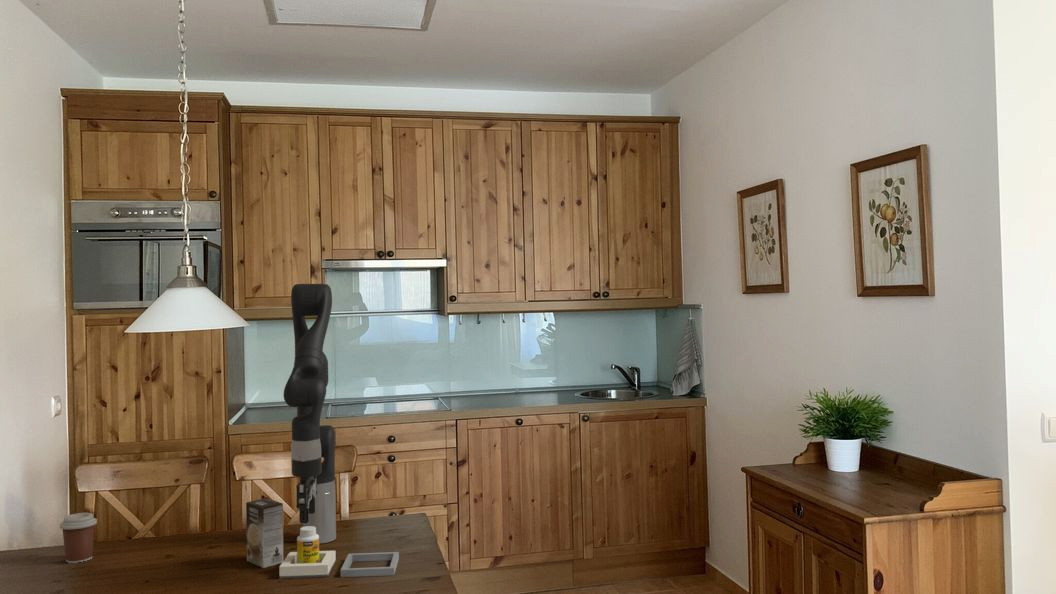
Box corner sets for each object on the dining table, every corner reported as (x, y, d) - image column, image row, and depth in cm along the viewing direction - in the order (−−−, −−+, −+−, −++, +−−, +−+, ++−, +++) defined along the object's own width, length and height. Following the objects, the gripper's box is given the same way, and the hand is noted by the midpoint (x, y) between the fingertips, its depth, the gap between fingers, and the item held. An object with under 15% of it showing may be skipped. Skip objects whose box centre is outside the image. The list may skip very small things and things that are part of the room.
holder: (290, 563, 220) (289, 552, 220) (335, 561, 221) (335, 550, 221) (279, 578, 208) (279, 566, 208) (327, 576, 209) (327, 565, 209)
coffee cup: (52, 562, 224) (51, 518, 224) (84, 552, 232) (83, 510, 232) (73, 567, 220) (73, 522, 220) (105, 557, 228) (104, 513, 228)
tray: (348, 560, 222) (348, 553, 222) (398, 558, 223) (398, 551, 223) (340, 577, 209) (340, 570, 209) (394, 575, 209) (393, 568, 209)
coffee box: (245, 561, 222) (244, 501, 222) (267, 555, 227) (266, 497, 227) (263, 568, 216) (262, 507, 216) (285, 562, 221) (284, 502, 221)
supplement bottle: (301, 572, 211) (300, 532, 211) (294, 566, 216) (293, 527, 216) (322, 568, 214) (321, 528, 214) (315, 562, 219) (314, 523, 219)
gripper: (297, 450, 221) (298, 510, 222) (285, 462, 207) (286, 526, 207) (325, 449, 222) (327, 509, 222) (315, 461, 208) (317, 525, 208)
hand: (307, 518), depth 215 cm, fingers open, 8 cm apart
